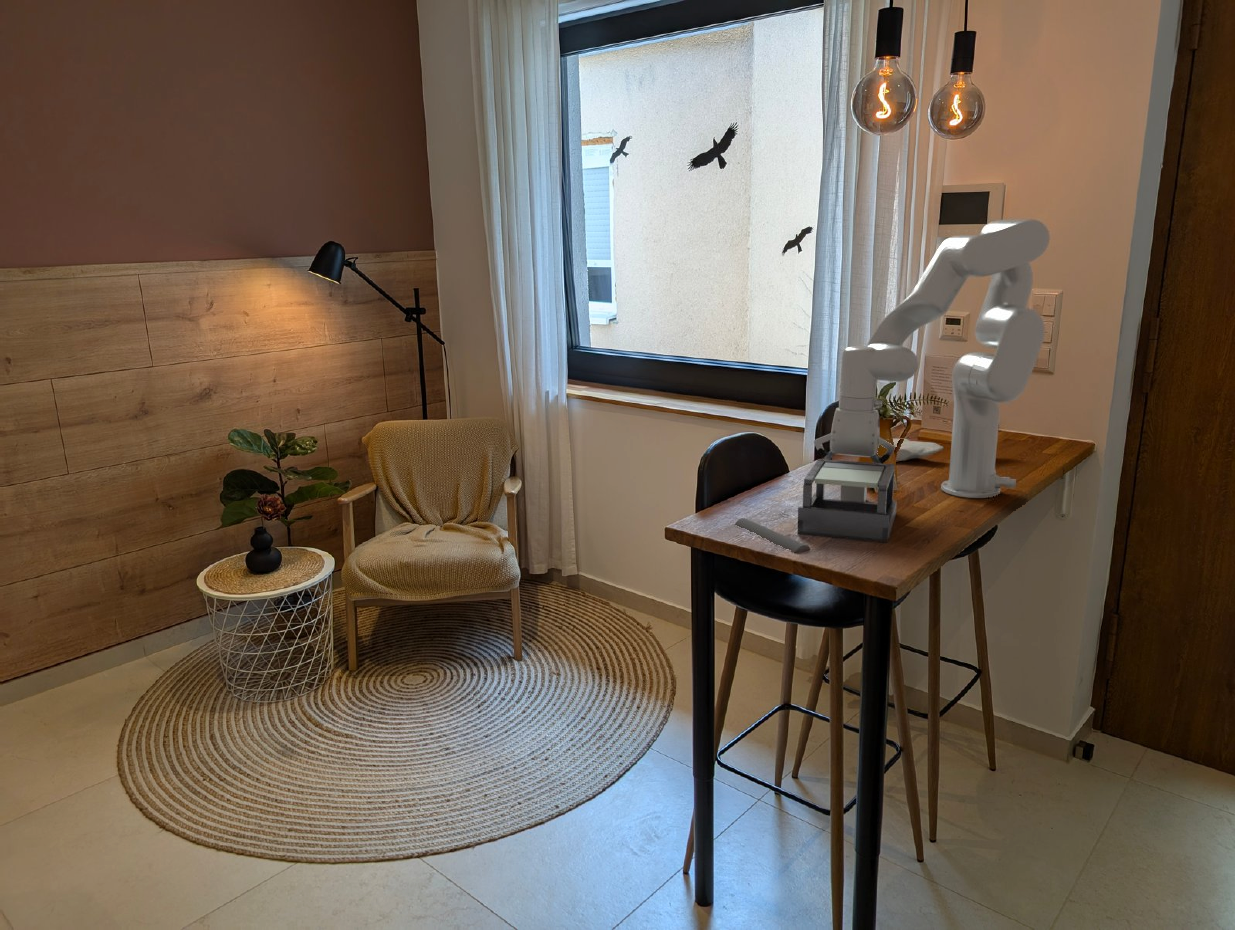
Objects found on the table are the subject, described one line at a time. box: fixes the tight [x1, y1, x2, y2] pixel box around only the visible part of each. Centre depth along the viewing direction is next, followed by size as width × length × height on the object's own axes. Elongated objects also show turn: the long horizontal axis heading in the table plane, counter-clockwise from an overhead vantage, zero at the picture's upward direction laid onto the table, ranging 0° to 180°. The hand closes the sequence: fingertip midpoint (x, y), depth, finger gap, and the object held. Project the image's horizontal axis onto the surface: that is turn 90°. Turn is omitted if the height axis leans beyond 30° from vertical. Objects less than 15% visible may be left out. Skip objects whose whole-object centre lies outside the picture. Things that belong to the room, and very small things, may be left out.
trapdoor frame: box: [797, 458, 898, 543], centre depth 182 cm, size 17×19×11 cm
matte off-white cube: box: [840, 485, 868, 502], centre depth 197 cm, size 5×5×6 cm
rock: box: [892, 438, 944, 462], centre depth 232 cm, size 21×5×15 cm
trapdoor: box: [814, 462, 885, 489], centre depth 180 cm, size 12×13×2 cm
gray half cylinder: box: [734, 517, 811, 553], centre depth 176 cm, size 4×20×2 cm, turn 29°
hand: (851, 480), depth 196 cm, fingers open, 9 cm apart
